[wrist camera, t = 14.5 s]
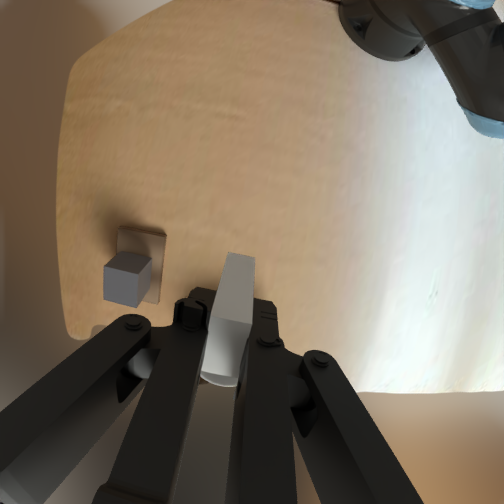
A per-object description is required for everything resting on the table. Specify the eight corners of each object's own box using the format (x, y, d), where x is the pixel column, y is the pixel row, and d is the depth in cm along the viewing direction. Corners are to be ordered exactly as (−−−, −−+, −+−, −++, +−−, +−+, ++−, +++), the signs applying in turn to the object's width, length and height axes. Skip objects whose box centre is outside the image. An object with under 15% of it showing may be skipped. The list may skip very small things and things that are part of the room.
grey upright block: (121, 250, 45) (103, 266, 39) (152, 257, 46) (138, 274, 40) (119, 281, 47) (103, 299, 41) (149, 288, 47) (136, 308, 41)
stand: (121, 225, 46) (98, 240, 39) (166, 235, 47) (150, 252, 39) (117, 291, 50) (98, 313, 42) (159, 301, 51) (145, 326, 43)
